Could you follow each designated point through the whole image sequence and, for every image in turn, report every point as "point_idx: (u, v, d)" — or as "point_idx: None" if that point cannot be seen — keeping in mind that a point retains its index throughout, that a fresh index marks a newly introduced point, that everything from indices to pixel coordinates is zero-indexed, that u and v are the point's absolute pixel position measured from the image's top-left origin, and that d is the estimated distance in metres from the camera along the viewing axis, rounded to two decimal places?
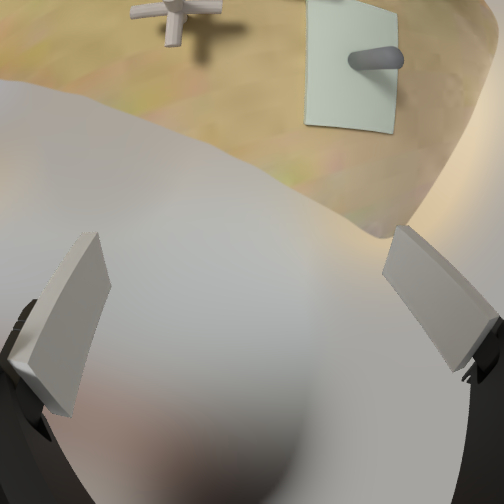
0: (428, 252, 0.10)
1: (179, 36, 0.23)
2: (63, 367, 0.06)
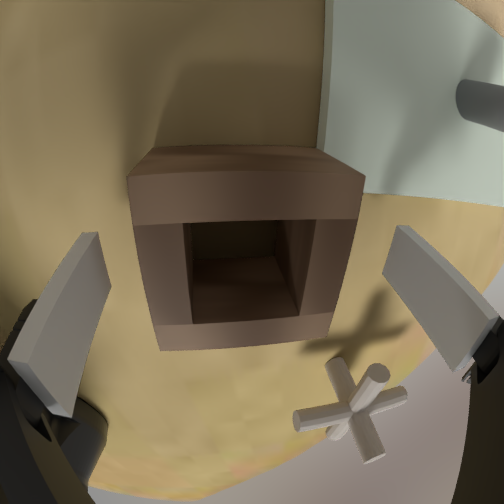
0: (428, 252, 0.10)
1: (398, 397, 0.19)
2: (63, 367, 0.06)
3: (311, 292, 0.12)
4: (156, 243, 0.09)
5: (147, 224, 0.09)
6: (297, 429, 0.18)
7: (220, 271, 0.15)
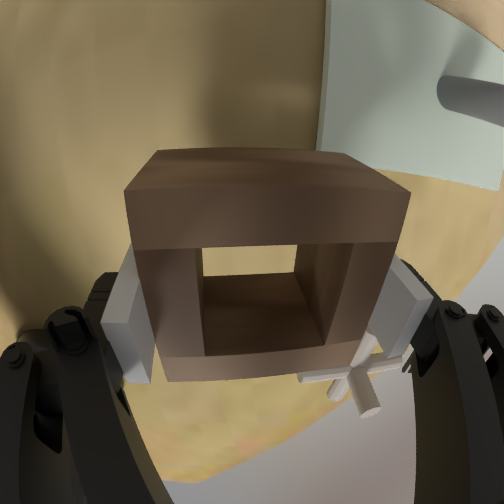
0: None
1: (393, 359, 0.22)
2: (146, 332, 0.08)
3: (340, 321, 0.10)
4: (162, 271, 0.08)
5: (150, 249, 0.07)
6: (300, 380, 0.21)
7: (234, 290, 0.13)
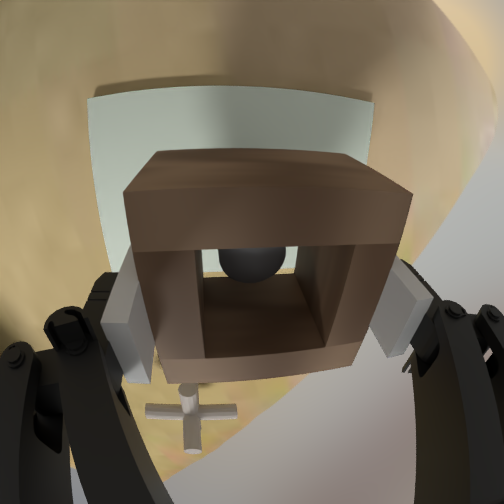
0: None
1: (227, 412, 0.27)
2: (146, 332, 0.08)
3: (341, 323, 0.10)
4: (162, 273, 0.08)
5: (150, 251, 0.07)
6: None
7: (234, 292, 0.13)
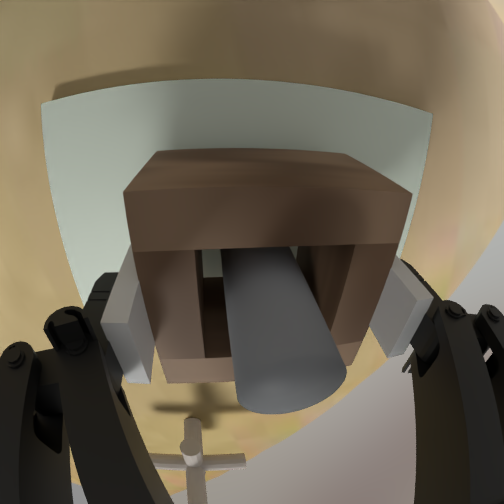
0: None
1: (235, 463, 0.22)
2: (146, 332, 0.08)
3: (341, 323, 0.10)
4: (161, 272, 0.08)
5: (150, 250, 0.07)
6: None
7: None
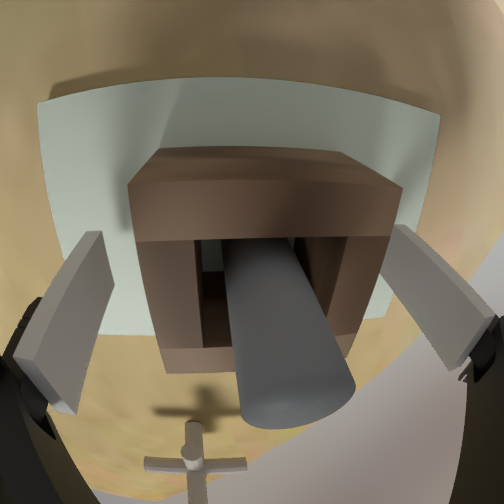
0: (424, 251, 0.10)
1: (236, 467, 0.21)
2: (68, 364, 0.06)
3: (335, 314, 0.10)
4: (162, 262, 0.08)
5: (152, 240, 0.08)
6: None
7: None
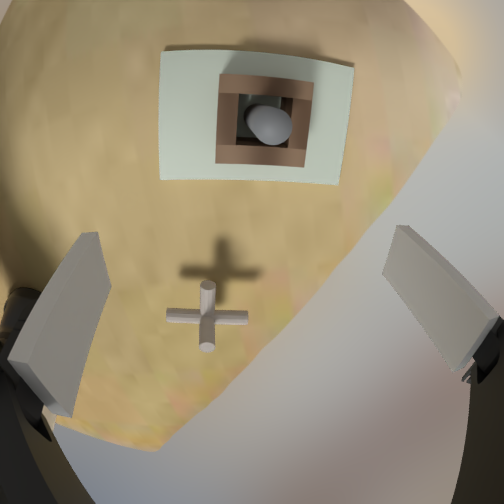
0: (428, 252, 0.10)
1: (239, 316, 0.34)
2: (63, 367, 0.06)
3: (293, 134, 0.23)
4: (226, 100, 0.21)
5: (224, 92, 0.21)
6: None
7: (248, 139, 0.27)
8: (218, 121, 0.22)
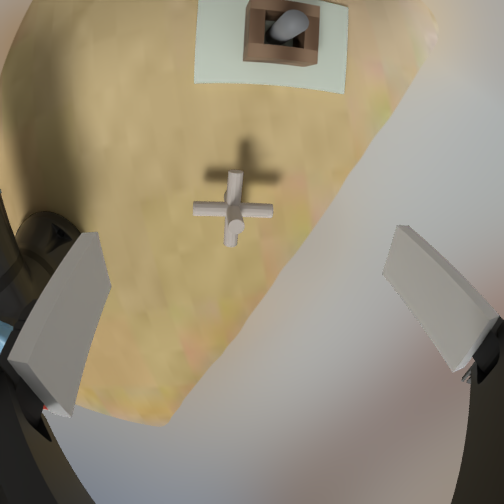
0: (428, 252, 0.10)
1: (264, 206, 0.36)
2: (63, 367, 0.06)
3: (307, 39, 0.25)
4: (256, 13, 0.23)
5: (255, 8, 0.22)
6: (193, 212, 0.35)
7: None
8: (250, 26, 0.24)
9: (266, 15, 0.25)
